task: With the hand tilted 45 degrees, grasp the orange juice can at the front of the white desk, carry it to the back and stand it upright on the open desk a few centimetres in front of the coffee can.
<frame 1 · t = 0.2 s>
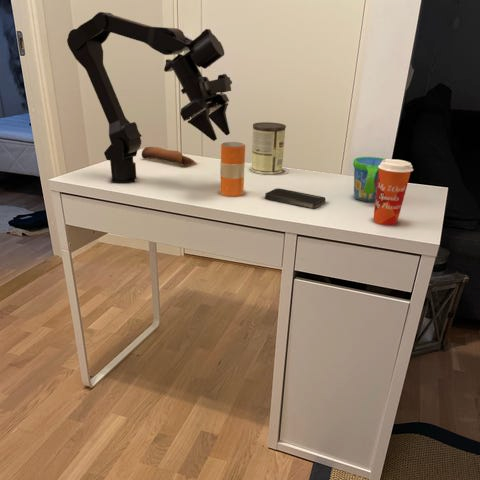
hand: (222, 137, 126), 15 cm above the table, tool tilted 35°, fingers open, 9 cm apart
phone: (294, 200, 130), on the table
brown elongated rounded bar: (169, 162, 165), on the table
coffee can: (266, 171, 158), on the table
juice can: (231, 193, 134), on the table
paper cup: (385, 222, 118), on the table
snack cup: (367, 199, 135), on the table
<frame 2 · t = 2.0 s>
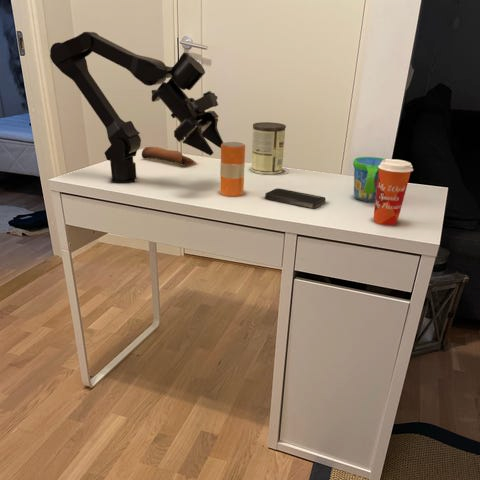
hand: (218, 150, 130), 11 cm above the table, tool tilted 45°, fingers open, 9 cm apart
nothing on the table moved.
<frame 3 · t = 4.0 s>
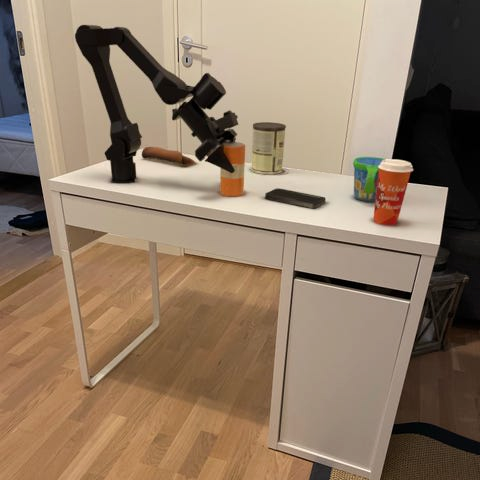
hand: (237, 169, 131), 7 cm above the table, tool tilted 45°, fingers closed on juice can, 6 cm apart
juice can: (231, 193, 134), on the table, touching gripper
everything else where it was.
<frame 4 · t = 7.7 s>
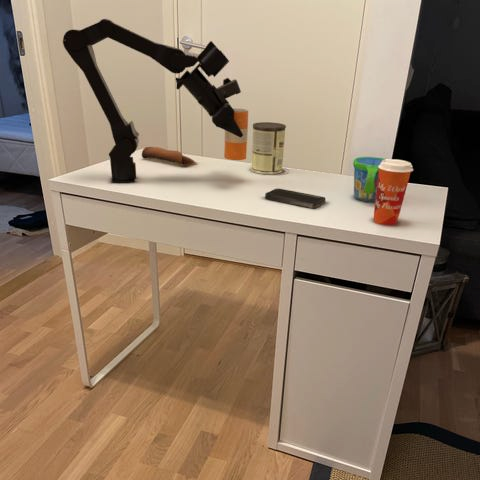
hand: (240, 134, 139), 13 cm above the table, tool tilted 45°, fingers closed on juice can, 6 cm apart
juice can: (235, 157, 142), point 7 cm above the table, touching gripper
everything else where it was.
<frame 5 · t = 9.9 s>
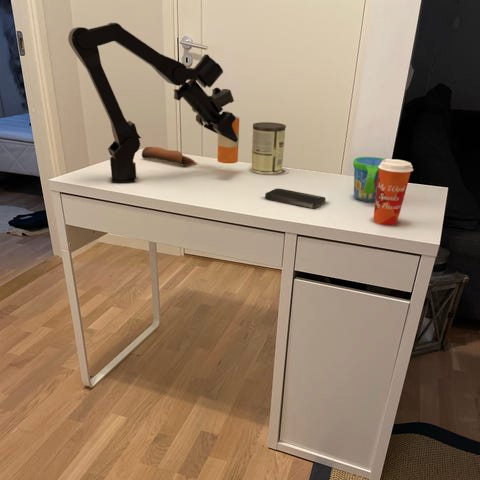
hand: (232, 139, 150), 10 cm above the table, tool tilted 45°, fingers closed on juice can, 6 cm apart
juice can: (227, 161, 153), point 3 cm above the table, touching gripper
everything else where it was.
when the fingers open (7 cm above the table, at t = 11.5 s): juice can stays where it is, on the table.
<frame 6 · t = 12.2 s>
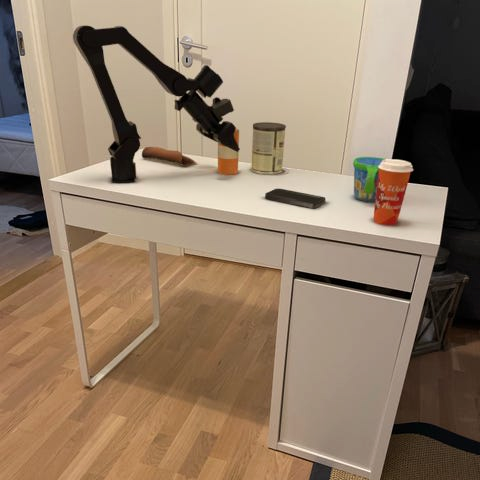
hand: (232, 147, 151), 7 cm above the table, tool tilted 45°, fingers open, 9 cm apart
juice can: (227, 172, 155), on the table
everything else where it was.
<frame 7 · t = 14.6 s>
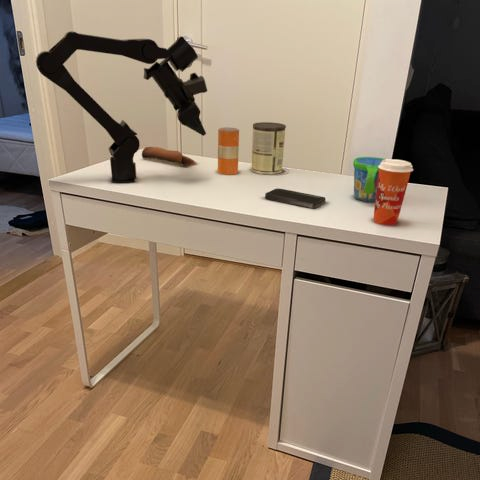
hand: (202, 129, 144), 13 cm above the table, tool tilted 40°, fingers open, 9 cm apart
nothing on the table moved.
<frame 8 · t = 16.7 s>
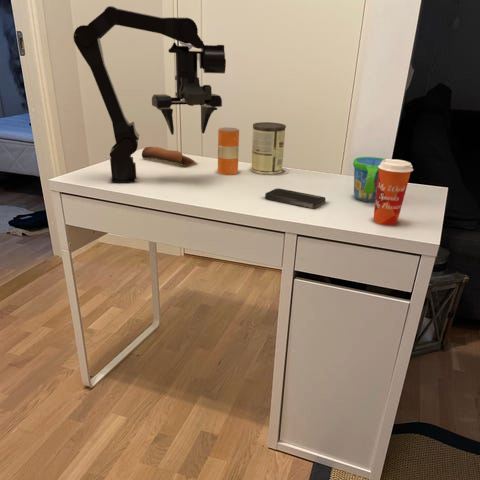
hand: (187, 133, 139), 13 cm above the table, tool pointing down, fingers open, 9 cm apart
nothing on the table moved.
at the end: juice can 13.2 cm from the coffee can (horizontally); juice can tilted 0°; the gripper is holding nothing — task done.
